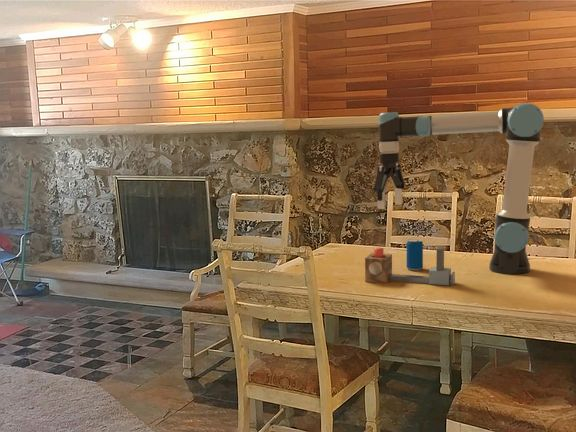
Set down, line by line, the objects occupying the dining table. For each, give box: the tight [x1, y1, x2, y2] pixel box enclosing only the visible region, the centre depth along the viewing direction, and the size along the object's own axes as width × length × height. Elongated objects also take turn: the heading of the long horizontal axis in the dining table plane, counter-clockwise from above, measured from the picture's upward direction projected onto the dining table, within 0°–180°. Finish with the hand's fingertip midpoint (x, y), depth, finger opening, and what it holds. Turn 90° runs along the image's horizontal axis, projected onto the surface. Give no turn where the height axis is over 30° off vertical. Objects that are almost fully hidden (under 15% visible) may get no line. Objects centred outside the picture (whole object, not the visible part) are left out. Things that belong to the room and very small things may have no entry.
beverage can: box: [406, 238, 424, 271], centre depth 249 cm, size 6×6×12 cm
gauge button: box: [373, 247, 384, 258], centre depth 234 cm, size 4×4×6 cm
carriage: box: [428, 246, 452, 286], centre depth 226 cm, size 7×6×13 cm
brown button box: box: [364, 252, 393, 284], centre depth 235 cm, size 8×10×9 cm
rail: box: [388, 271, 456, 287], centre depth 229 cm, size 24×5×4 cm, turn 68°
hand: (390, 206), depth 242 cm, fingers open, 13 cm apart
